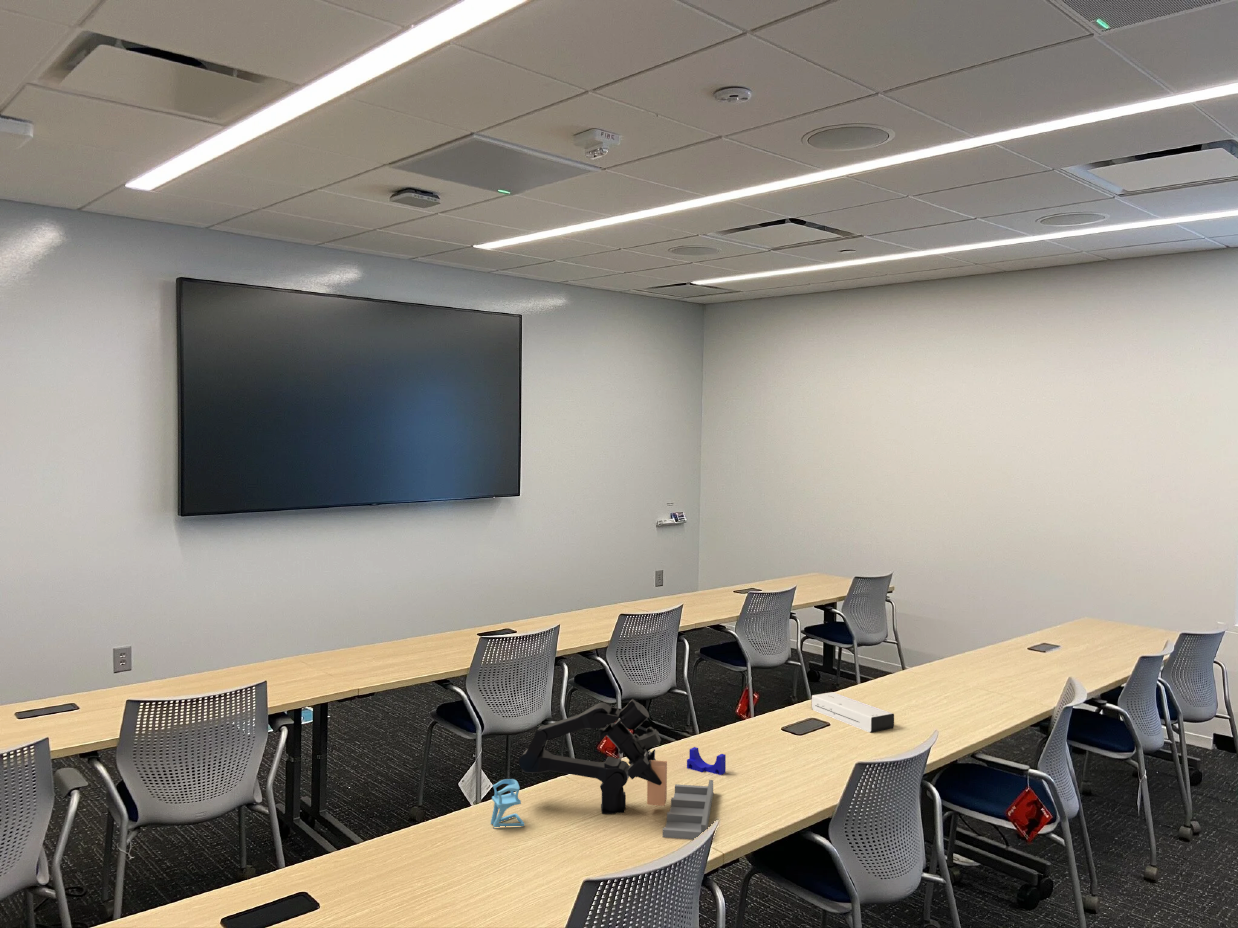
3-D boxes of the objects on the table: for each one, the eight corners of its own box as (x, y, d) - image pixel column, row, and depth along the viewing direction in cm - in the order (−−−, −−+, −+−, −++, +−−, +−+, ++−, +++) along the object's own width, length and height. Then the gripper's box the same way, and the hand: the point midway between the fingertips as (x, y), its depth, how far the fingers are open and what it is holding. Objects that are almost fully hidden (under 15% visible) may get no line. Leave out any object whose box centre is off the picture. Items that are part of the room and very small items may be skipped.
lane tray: (662, 838, 238) (662, 821, 238) (675, 791, 270) (675, 777, 270) (705, 841, 236) (705, 825, 236) (713, 794, 268) (713, 779, 268)
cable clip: (686, 768, 291) (686, 750, 291) (694, 764, 294) (694, 746, 294) (718, 776, 283) (718, 758, 283) (725, 772, 287) (725, 754, 287)
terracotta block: (647, 804, 252) (647, 765, 252) (649, 797, 257) (649, 759, 257) (664, 805, 252) (665, 767, 252) (666, 798, 257) (666, 761, 256)
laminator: (811, 710, 358) (811, 695, 358) (835, 706, 363) (835, 691, 363) (871, 734, 327) (871, 717, 327) (896, 729, 333) (896, 712, 333)
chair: (488, 821, 249) (487, 778, 249) (516, 816, 252) (516, 774, 252) (495, 832, 242) (495, 788, 242) (524, 826, 245) (524, 783, 245)
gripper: (639, 731, 246) (678, 773, 244) (648, 711, 264) (685, 751, 262) (611, 757, 247) (650, 800, 245) (622, 736, 265) (658, 775, 264)
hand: (661, 780), depth 254 cm, fingers closed on terracotta block, 5 cm apart
